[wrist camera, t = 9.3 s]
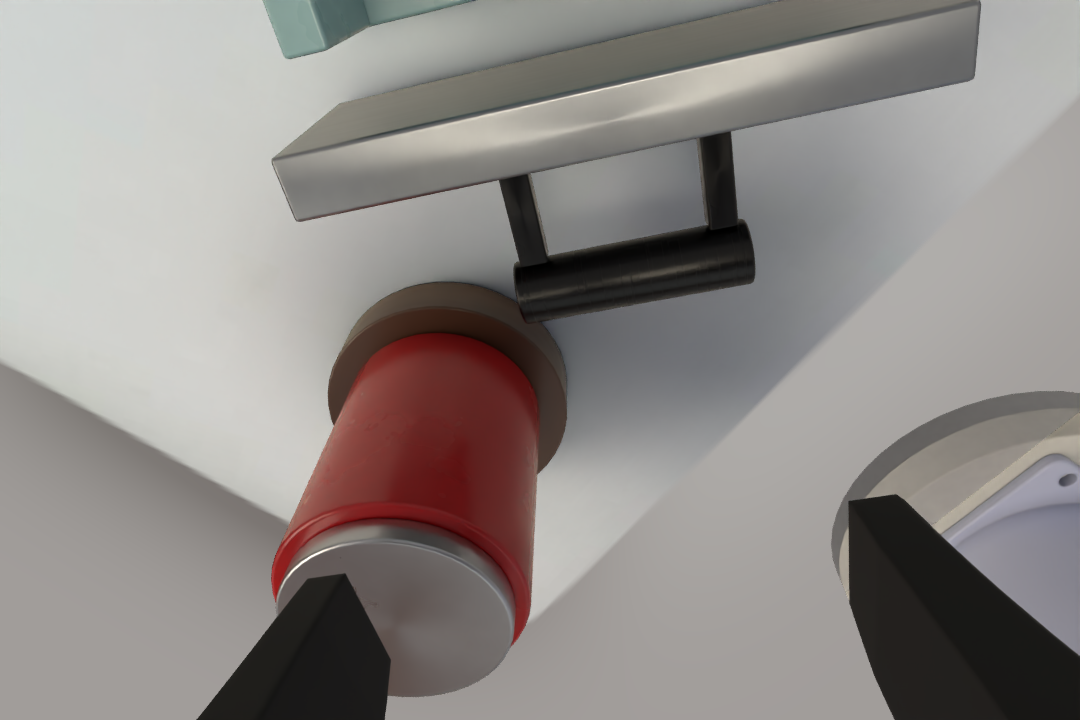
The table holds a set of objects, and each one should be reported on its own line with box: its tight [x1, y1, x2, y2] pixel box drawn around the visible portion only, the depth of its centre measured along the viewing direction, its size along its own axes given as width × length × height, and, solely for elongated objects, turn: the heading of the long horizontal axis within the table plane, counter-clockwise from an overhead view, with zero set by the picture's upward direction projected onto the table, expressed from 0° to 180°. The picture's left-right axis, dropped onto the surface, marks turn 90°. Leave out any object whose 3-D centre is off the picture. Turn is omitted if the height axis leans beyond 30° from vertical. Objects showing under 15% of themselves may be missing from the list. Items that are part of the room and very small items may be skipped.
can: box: [271, 333, 540, 697], centre depth 17 cm, size 5×5×7 cm
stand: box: [328, 282, 567, 474], centre depth 20 cm, size 7×7×2 cm
